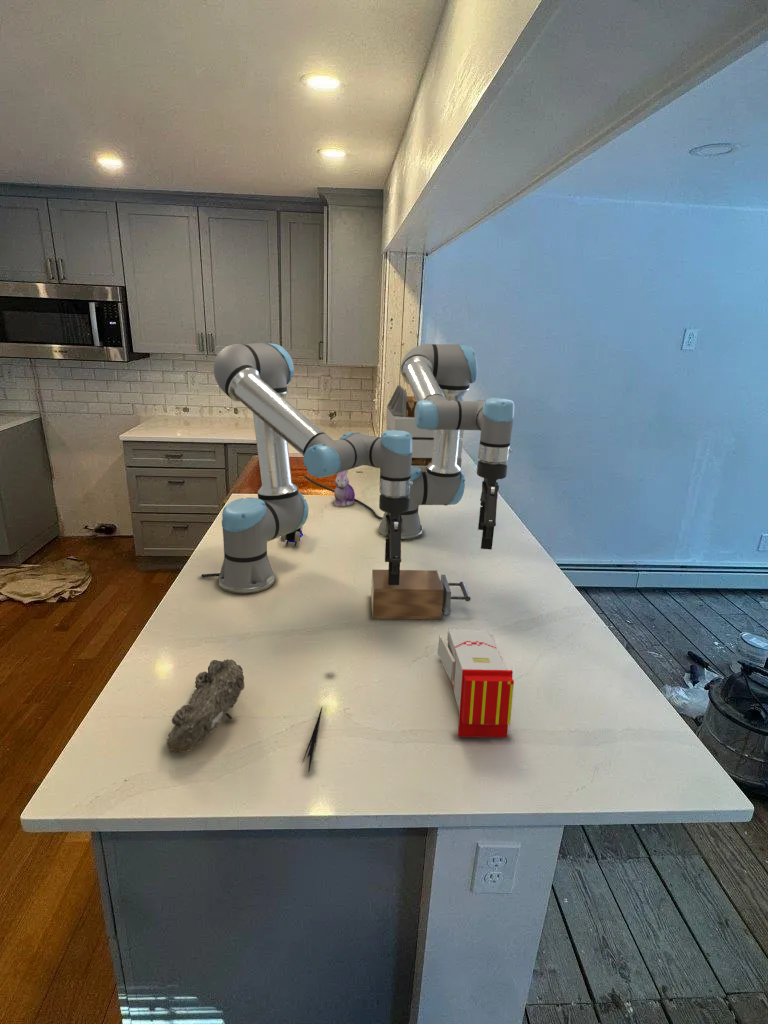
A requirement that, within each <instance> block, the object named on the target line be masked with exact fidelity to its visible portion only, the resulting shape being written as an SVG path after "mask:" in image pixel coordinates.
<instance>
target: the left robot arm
mask: <svg viewBox="0 0 768 1024" xmlns="http://www.w3.org/2000/svg"><path fill="white" fill-rule="evenodd" d="M294 372H295V367H294V363H293V359H292V357H291V355H290V353H289V352H288V351H287V350H286V349H285V348H284V347H283V346H282V345H280V344H278V343H272V342H271V343H269V342H261V343H260V342H258V343H257V342H256V343H233V344H230V345H227V346H225V347H223V348H222V349H221V350H220V351H219V352H218V353H217V355H216V357H215V359H214V362H213V375H214V379H215V381H216V383H217V385H218V387H219V388H220V389H221V391H222V392H223V393H224V394H225V395H227V397H228V398H229V399H231V400H232V401H233V402H241V404H243V405H244V406H245V407H246V408H248V409H249V410H250V411H251V412H252V417H253V424H254V433H255V434H254V435H255V441H256V449H257V456H258V457H257V458H258V465H259V473H260V482H261V486H260V488H258V490H257V492H256V494H257V497H246V498H238V499H235V500H233V501H230V502H229V503H227V504H226V505H225V506H224V507H223V509H222V512H221V513H222V514H221V527H222V541H223V542H222V543H223V557H224V558H223V561H222V565H221V568H220V572H215V573H213V572H212V573H202V574H201V575H200V577H201V578H214V577H216V578H217V577H218V585H219V587H220V589H222V590H223V591H225V592H227V593H232V594H237V595H248V594H256V593H259V592H262V591H265V590H267V589H269V588H270V587H272V586H273V584H274V583H275V572H274V570H273V567H272V564H271V561H270V559H269V557H268V542H270V541H273V540H276V539H278V538H281V536H283V535H286V534H289V533H292V532H294V531H295V530H297V529H299V528H301V527H303V526H304V525H305V524H306V522H307V520H308V517H309V505H308V502H307V499H306V498H305V496H304V495H303V493H302V492H299V487H298V485H296V484H294V483H293V480H292V479H293V478H292V471H291V463H290V452H289V445H290V446H291V447H292V448H294V450H295V451H297V452H298V453H299V455H301V456H302V457H303V458H302V459H303V465H304V467H305V469H306V472H307V473H308V474H309V475H311V476H312V477H313V478H318V479H320V478H326V477H327V478H328V477H333V476H335V475H337V473H340V472H343V471H346V470H348V471H349V470H353V469H355V468H359V467H361V466H366V467H367V466H368V467H372V468H377V469H379V470H380V471H379V493H380V494H379V501H378V507H379V510H380V511H382V512H384V513H385V512H387V515H386V530H385V532H386V537H385V544H384V545H385V548H384V563H388V570H389V572H388V585H399V577H400V570H401V563H402V540H401V533H402V529H401V525H402V518H401V515H399V514H400V513H404V512H406V511H408V510H409V506H410V496H409V495H408V494H409V493H410V486H409V485H413V482H412V481H410V480H411V479H410V478H411V461H412V453H413V449H412V436H411V434H410V433H408V432H406V431H401V430H399V431H398V430H388V431H386V430H384V431H383V432H382V433H381V436H376V435H370V434H365V433H361V432H352V431H348V432H344V433H343V434H342V436H340V437H339V439H337V440H336V439H333V438H332V437H330V436H329V435H328V434H327V433H325V432H324V431H323V430H322V429H321V428H320V427H319V426H317V425H316V424H315V423H313V422H312V421H311V420H310V419H309V418H308V417H307V416H305V415H304V414H303V413H302V412H301V411H299V410H298V409H297V408H296V407H295V406H293V405H292V404H291V403H290V402H289V401H288V400H286V399H285V396H286V395H287V394H288V385H289V384H290V383H291V381H292V379H293V378H294V374H295V373H294Z"/></svg>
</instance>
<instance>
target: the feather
mask: <svg viewBox="0 0 768 1024" xmlns="http://www.w3.org/2000/svg"><path fill="white" fill-rule="evenodd" d="M329 675H330V676H331V675H332V674H331V673H330V674H329ZM322 710H323V707H321V708H320V710H319V713H318V716H317V719H316V723H315V725H314V728H313V731H312V733H311V737H310V739H309V742H308V745H307V748H306V751H305V754H304V757H303V760H302V763H301V767H302V765H303V763H304V761H305V758H308V759H309V760H308V762H307V763H308V764H307V766H308V771H310V770H311V766H312V765H311V764H312V760H313V757H315V756H314V755H315V751H316V749H315V746H317V739H318V733H319V729H320V722H321V717H322V712H323V711H322ZM313 754H314V755H313ZM306 755H307V757H306Z"/></svg>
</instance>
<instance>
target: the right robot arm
mask: <svg viewBox="0 0 768 1024" xmlns="http://www.w3.org/2000/svg"><path fill="white" fill-rule="evenodd" d="M400 373H401V376H402V379H403V380H404V381H405V383H406V384H407V385H409V386H410V390H411V392H412V394H413V396H415V398H416V401H417V404H416V407H415V423H416V426H417V427H418V428H419V429H428V430H434V442H433V454H432V462H431V463H429V464H428V465H427V466H426V471H422V469H421V467H420V466H411V478H410V479H411V480H410V481H412V482H413V485H409V486H410V493H409V494H408V495H409V496H410V506H409V510H408V511H406V512H404V513H400V514H399V515H401V518H402V525H401V529H402V533H401V541H410V540H415V539H418V538H420V537H421V536H422V535H423V525H422V524H421V518H420V515H419V507H420V506H449V505H450V506H453V505H457V504H459V502H461V501H462V499H463V496H464V493H465V489H466V483H465V482H466V477H465V474H464V472H462V467H461V468H460V467H459V466H458V465H457V457H458V447H459V437H460V430H464V431H480V437H479V445H478V456H477V458H478V461H477V466H476V467H477V468H476V475H477V476H478V477H480V478H482V479H483V480H482V481H481V493H480V499H479V501H480V507H479V515H478V525H477V530H478V531H482V534H481V543H480V549H481V550H489V551H492V550H493V543H494V534H495V527H496V525H497V507H498V494H499V490H500V486H499V482H498V481H497V480H503V479H505V478H506V477H507V474H508V467H509V464H508V463H507V462H508V461H509V457H510V455H509V454H512V452H513V450H512V449H511V440H512V433H513V423H514V419H515V403H514V401H513V400H511V399H506V398H501V397H499V398H498V397H490V398H486V399H475V400H464V398H465V397H464V396H465V394H466V393H467V392H468V391H470V385H471V384H474V383H476V380H477V378H478V359H477V356H476V352H475V350H474V349H473V347H471V346H470V345H465V344H464V345H463V344H443V343H442V344H441V343H439V344H438V343H435V344H434V343H423V344H419V345H417V346H415V347H413V348H411V349H410V350H409V351H407V353H405V355H404V356H403V359H402V361H401V364H400ZM303 478H305V479H306V480H307V481H309V482H310V483H312V484H314V485H316V486H318V487H320V488H322V489H325V490H327V491H330V492H332V493H334V494H335V489H332V488H329V487H327V486H324V485H322V484H321V483H318V482H316V481H315V480H313V479H311V478H309V477H308V476H307V475H304V477H303ZM354 502H355V503H357V504H359V505H361V506H363V507H365V508H366V509H368V510H369V511H370V512H371V513H372V514H373V516H374V517H375V518H377V519H378V520H381V522H379V526H378V533H379V534H380V535H381V536H382V537H385V538H386V532H385V530H386V515H387V512H384V513H383V515H382V516H380V515H378V514H377V513H376V512H375V510H374V509H373V508H372V507H370V506H369V505H367V504H366V503H364V502H362V501H361V500H358V499H357V498H355V499H354Z"/></svg>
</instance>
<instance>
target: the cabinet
mask: <svg viewBox="0 0 768 1024" xmlns="http://www.w3.org/2000/svg"><path fill="white" fill-rule="evenodd" d="M388 572H389V569H371V586H370V587H371V589H370V590H371V591H370V601H371V603H370V604H371V614H372V615H371V616H372V620H373V619H374V620H375V619H378V620H379V619H381V620H386V619H387V620H395V619H396V620H441V619H442V612H443V608H442V601H443V587H442V584H441V581H440V580H441V577H440V575H439V572H438V570H437V569H435V570H434V569H433V570H428V569H425V570H424V569H400V577H399V585H388Z"/></svg>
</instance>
